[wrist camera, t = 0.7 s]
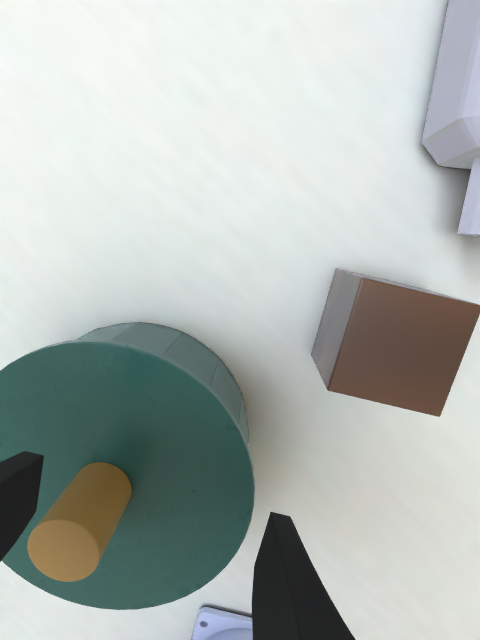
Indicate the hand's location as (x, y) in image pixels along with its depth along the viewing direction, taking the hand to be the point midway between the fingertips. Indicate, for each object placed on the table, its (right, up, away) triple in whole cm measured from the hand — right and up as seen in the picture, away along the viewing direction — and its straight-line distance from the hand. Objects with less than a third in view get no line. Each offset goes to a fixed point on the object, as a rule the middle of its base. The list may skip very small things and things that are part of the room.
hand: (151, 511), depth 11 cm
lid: (-3, -1, +5) cm, 7 cm away
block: (+10, +6, +9) cm, 14 cm away
